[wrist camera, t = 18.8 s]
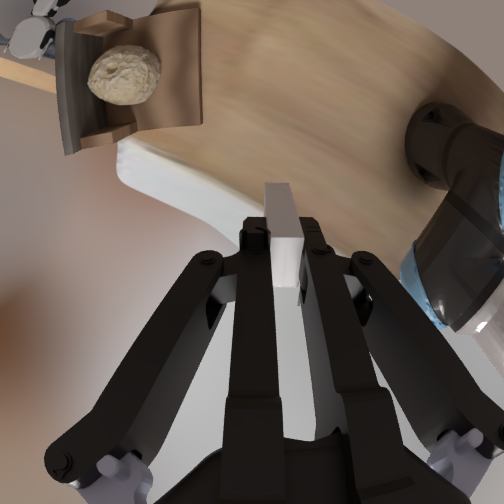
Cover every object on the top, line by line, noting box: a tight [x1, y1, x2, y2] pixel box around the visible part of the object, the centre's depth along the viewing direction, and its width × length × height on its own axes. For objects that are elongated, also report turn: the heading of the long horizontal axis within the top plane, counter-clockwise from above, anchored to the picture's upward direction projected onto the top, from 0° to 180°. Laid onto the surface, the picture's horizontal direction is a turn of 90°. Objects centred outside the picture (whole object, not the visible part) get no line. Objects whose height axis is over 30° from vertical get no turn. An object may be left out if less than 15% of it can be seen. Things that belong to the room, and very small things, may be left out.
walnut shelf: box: [55, 8, 203, 155], centre depth 27 cm, size 16×18×12 cm
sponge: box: [87, 45, 161, 105], centre depth 28 cm, size 9×10×10 cm
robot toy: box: [3, 0, 70, 60], centre depth 21 cm, size 12×4×15 cm
